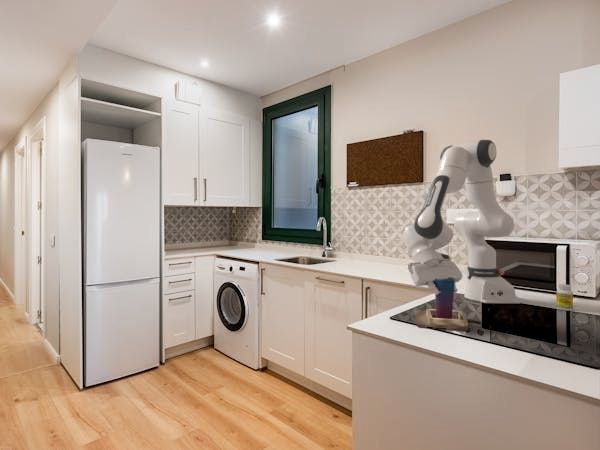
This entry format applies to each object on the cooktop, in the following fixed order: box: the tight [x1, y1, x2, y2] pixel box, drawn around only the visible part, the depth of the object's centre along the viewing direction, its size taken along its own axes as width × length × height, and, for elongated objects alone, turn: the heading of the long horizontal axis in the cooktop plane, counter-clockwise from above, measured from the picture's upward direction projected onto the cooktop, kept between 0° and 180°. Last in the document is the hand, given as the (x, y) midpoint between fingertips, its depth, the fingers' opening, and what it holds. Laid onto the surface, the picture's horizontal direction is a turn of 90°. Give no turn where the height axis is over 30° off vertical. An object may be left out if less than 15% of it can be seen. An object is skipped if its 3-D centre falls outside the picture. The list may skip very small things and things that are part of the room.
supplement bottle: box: [555, 283, 574, 311], centre depth 141 cm, size 5×5×10 cm
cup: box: [434, 277, 456, 319], centre depth 126 cm, size 7×7×15 cm
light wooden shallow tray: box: [413, 308, 469, 332], centre depth 128 cm, size 16×18×3 cm
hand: (447, 292), depth 125 cm, fingers closed on cup, 6 cm apart
